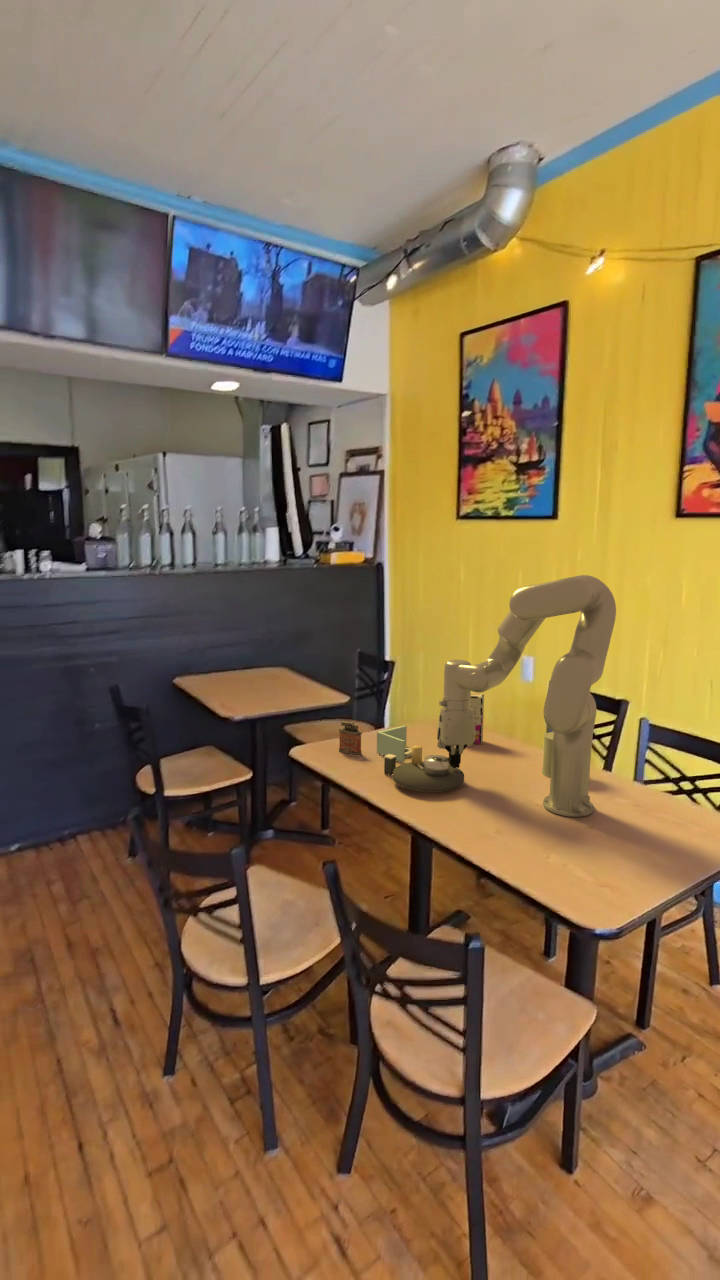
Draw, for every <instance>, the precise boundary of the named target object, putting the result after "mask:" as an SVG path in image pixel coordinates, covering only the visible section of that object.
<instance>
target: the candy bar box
mask: <svg viewBox="0 0 720 1280" xmlns="http://www.w3.org/2000/svg"><path fill="white" fill-rule="evenodd" d="M484 703H485V694H484V693H483V694H482V693H472V692H471V699H470V708H472V709H473V712H474V719H475V741H474V742H473V745H482V743H483V740H484V711H485V710H484V707H485V706H484Z"/></svg>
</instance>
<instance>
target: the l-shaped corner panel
mask: <svg viewBox="0 0 720 1280" xmlns="http://www.w3.org/2000/svg"><path fill="white" fill-rule="evenodd" d="M407 729H408V728H407V725H401V726H397V727H393V728H389V729H384V730H381V731H376V754H378V753H380V754H383V755H385V756H386V755H388V754H392V755H396V760H397V761H396V762H398V761H400V762H399V763H401V762H404V763H405V759H407V758H406V757H410V756H412V748H409V747H407V732H408V731H407ZM405 746H406V747H405ZM405 752H406V753H405ZM380 754H379V755H380ZM383 755H382V756H383ZM410 758H411V757H410Z"/></svg>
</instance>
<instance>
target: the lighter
mask: <svg viewBox="0 0 720 1280" xmlns="http://www.w3.org/2000/svg"><path fill="white" fill-rule="evenodd" d="M340 726H343V727H339V728H338V733H339V748H338V752H339V753H341V752H342V753H343V754H345V753H346V755H349V754H352V755H351V756H356V755H359V756H361V755H362V752H363V751H362V734H363V731H362V730H360V729H359V724H358V723H357V724H356V723H355V722H353V721H352V722H348V721H344V720H343V721H341V722H340ZM342 753H341V754H342Z"/></svg>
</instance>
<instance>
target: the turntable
mask: <svg viewBox="0 0 720 1280" xmlns="http://www.w3.org/2000/svg"><path fill="white" fill-rule="evenodd" d="M411 749H412V757H411V761H410V762H406V763H402V764H399V765H398V766H396V768H395V769H394V770H393V775H392V780H393V782H395V784H397V785H398V786H400V787H402V788H403V789H407V790H411V791H416V792H423V793H441V792H442V793H443V792H449V791H452V790H456V789H458V788H460V787H462V786H463V785H464V782H465V773H464V772H463V770H461V769H460V768H457V767H456V768H453V767H452V766H450V764H449V775H447V776H444V777H432V776H428V775H426V774H425V773H424V760H423V747H422V746H420V745H412V746H411Z"/></svg>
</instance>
